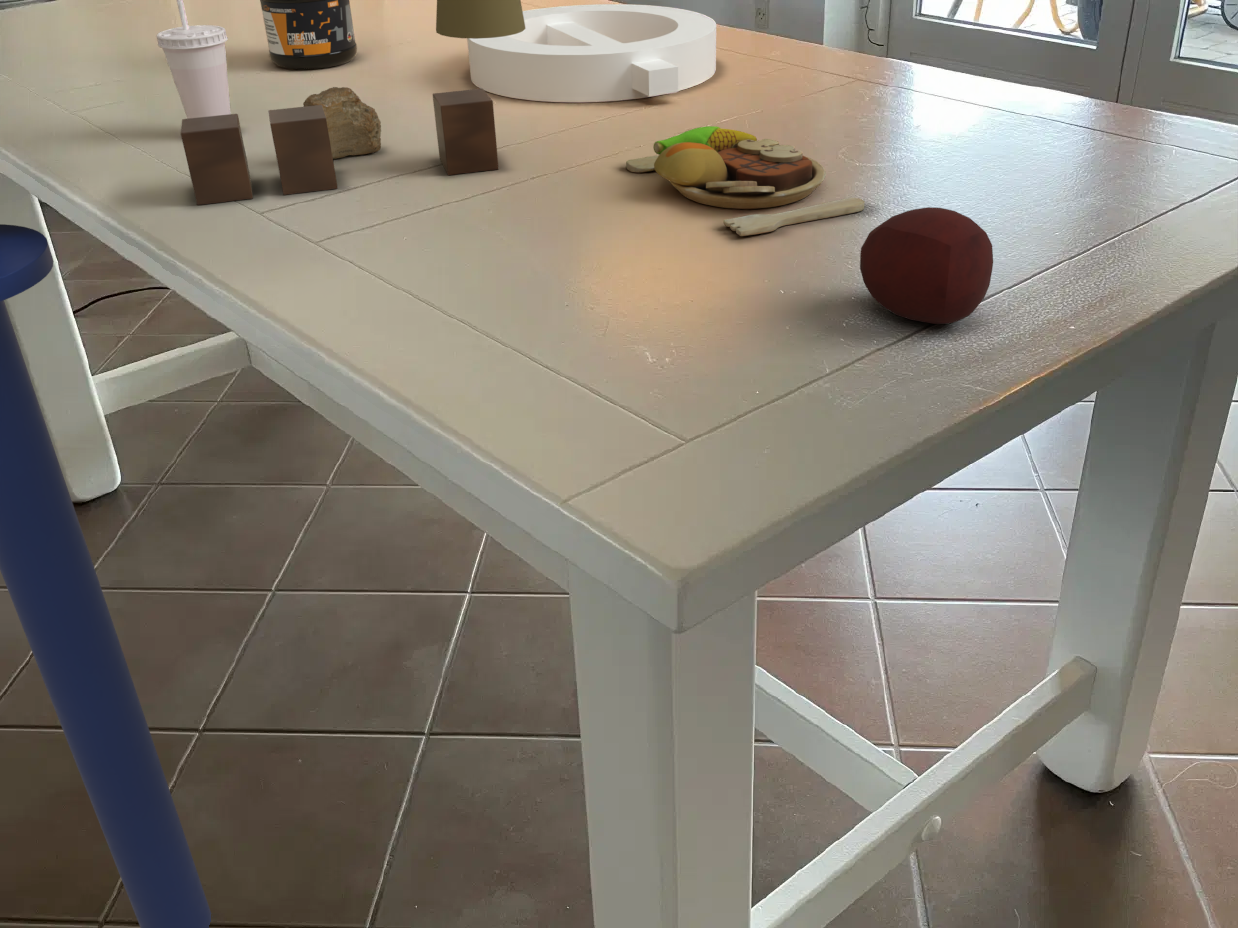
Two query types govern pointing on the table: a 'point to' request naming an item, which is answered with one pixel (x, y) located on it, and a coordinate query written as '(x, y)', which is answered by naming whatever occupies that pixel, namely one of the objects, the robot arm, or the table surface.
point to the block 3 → (465, 131)
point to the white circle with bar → (597, 54)
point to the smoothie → (198, 66)
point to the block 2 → (303, 149)
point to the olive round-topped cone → (479, 18)
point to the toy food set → (742, 176)
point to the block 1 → (216, 159)
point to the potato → (928, 265)
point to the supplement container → (309, 33)
